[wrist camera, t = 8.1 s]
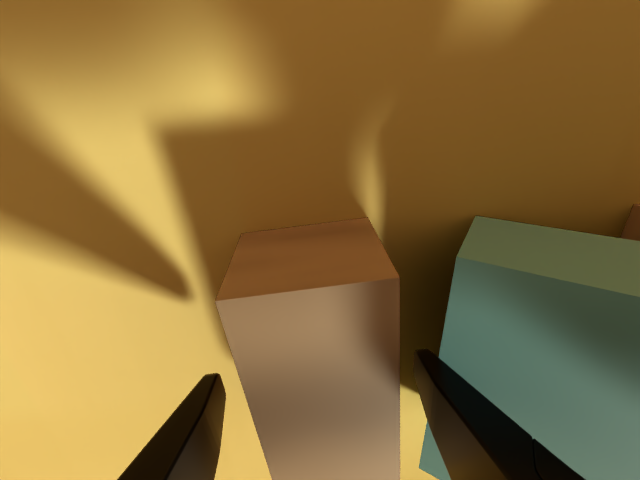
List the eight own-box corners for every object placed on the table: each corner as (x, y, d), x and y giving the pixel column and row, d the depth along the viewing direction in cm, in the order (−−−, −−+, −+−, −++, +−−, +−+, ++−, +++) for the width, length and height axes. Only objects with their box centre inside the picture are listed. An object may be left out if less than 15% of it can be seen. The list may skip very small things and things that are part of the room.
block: (375, 386, 14) (399, 483, 10) (283, 398, 14) (278, 499, 10) (366, 214, 10) (399, 277, 7) (242, 230, 10) (214, 301, 7)
